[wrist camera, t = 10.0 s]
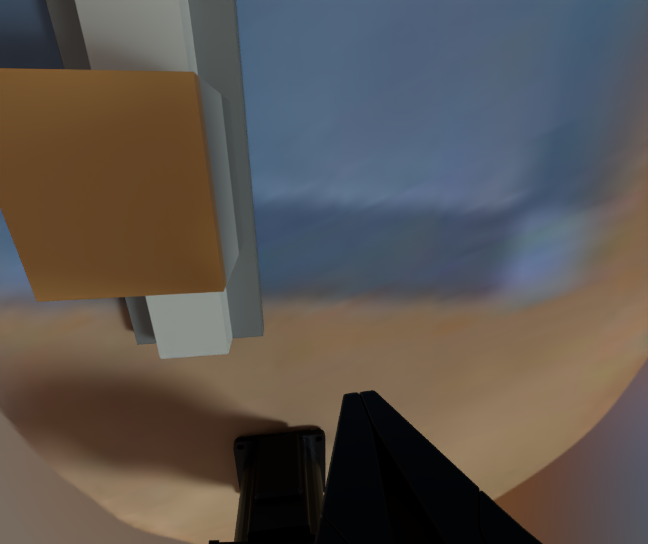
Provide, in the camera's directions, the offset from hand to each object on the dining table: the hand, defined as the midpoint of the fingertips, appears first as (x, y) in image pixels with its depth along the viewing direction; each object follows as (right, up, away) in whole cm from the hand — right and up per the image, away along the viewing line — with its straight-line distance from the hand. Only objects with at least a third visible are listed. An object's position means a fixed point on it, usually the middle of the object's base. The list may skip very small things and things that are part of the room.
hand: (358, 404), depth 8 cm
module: (-8, +8, +6) cm, 13 cm away
